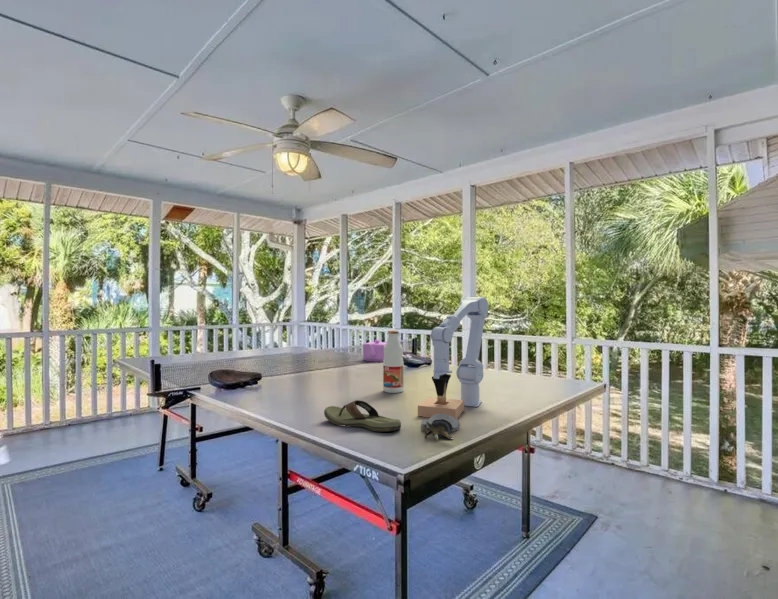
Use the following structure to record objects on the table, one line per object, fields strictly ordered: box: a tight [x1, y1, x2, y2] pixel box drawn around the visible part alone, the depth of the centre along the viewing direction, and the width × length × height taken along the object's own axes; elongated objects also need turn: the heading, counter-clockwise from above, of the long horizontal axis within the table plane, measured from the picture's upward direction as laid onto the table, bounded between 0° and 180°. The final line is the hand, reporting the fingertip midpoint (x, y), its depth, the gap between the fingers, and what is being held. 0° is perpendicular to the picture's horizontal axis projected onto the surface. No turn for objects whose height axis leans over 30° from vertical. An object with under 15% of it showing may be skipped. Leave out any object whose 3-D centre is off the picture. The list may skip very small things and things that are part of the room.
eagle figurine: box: [423, 419, 453, 442], centre depth 136 cm, size 8×7×9 cm
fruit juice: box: [382, 330, 405, 394], centre depth 203 cm, size 9×9×28 cm
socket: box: [417, 396, 465, 419], centre depth 165 cm, size 14×14×4 cm
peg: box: [436, 383, 447, 402], centre depth 165 cm, size 3×3×7 cm
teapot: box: [362, 339, 387, 363], centre depth 298 cm, size 15×25×14 cm, turn 159°
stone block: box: [420, 414, 461, 436], centre depth 145 cm, size 12×5×10 cm
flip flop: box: [323, 399, 402, 433], centre depth 151 cm, size 29×12×8 cm, turn 57°
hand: (441, 394), depth 165 cm, fingers closed on peg, 3 cm apart
